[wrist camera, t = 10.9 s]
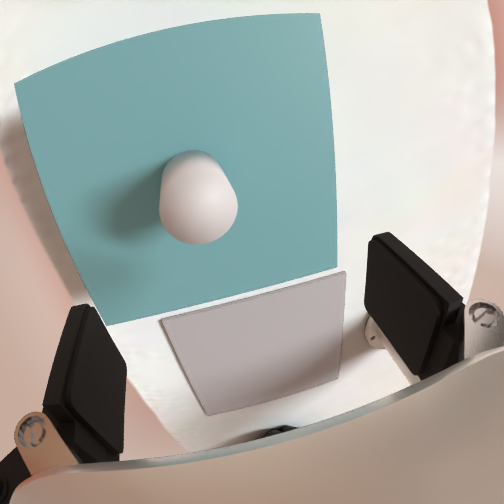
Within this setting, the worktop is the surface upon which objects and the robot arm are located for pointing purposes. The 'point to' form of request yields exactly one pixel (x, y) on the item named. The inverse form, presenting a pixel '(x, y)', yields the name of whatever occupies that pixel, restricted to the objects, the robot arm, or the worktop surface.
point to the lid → (189, 161)
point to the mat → (262, 344)
